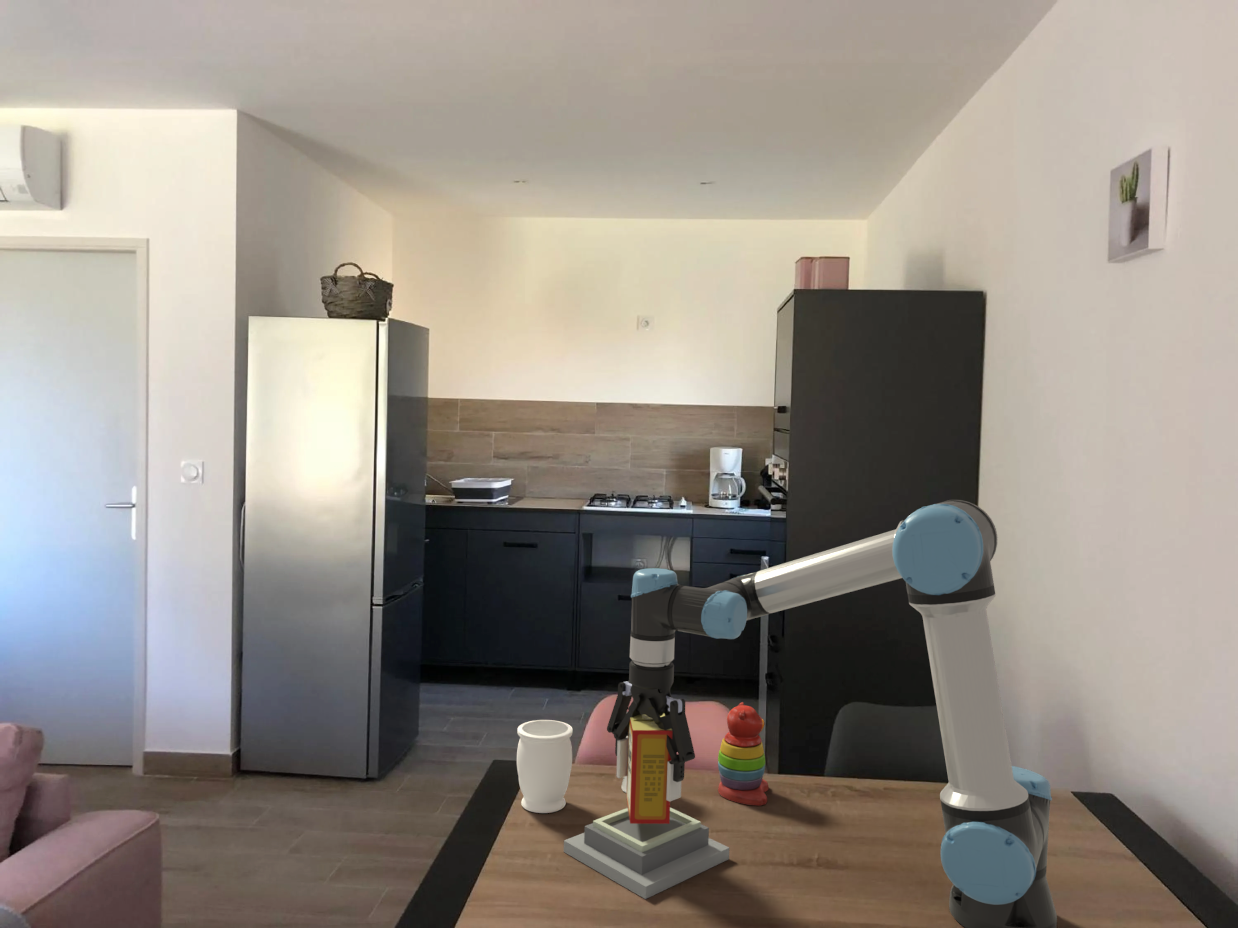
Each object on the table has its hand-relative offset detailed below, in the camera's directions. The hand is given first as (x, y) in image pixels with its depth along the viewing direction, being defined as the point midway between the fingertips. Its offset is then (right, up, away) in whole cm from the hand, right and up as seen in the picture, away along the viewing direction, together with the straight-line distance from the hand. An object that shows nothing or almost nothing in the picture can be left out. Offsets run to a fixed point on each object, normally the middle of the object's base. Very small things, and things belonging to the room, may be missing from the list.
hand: (647, 786), depth 157 cm
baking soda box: (0, -4, 0) cm, 4 cm away
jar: (-19, -11, +20) cm, 30 cm away
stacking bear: (+20, -11, +28) cm, 36 cm away
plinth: (0, -12, +1) cm, 12 cm away
